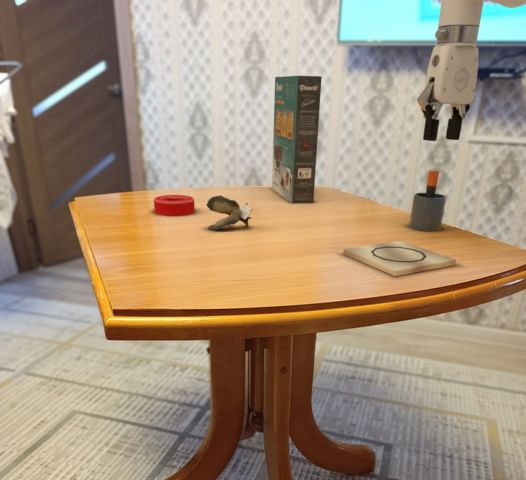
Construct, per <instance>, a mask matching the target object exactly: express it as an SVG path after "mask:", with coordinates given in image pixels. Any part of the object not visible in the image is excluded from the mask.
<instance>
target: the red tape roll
mask: <svg viewBox="0 0 526 480" xmlns="http://www.w3.org/2000/svg"><path fill="white" fill-rule="evenodd" d="M195 205H196V204H195V199H194V197H192V196H190V195H184V194H163V195H159V196H158V195H157V196H155V197H154V199H153V209H154V213H155V214H157V215H160V216H167V217H168V216H169V217H177V216H187V215H191V214H195V212H196V211H195V210H196V209H195V208H196V207H195Z"/></svg>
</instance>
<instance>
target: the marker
mask: <svg viewBox="0 0 526 480" xmlns="http://www.w3.org/2000/svg"><path fill="white" fill-rule="evenodd" d="M439 175H440V170H434V169H430V170H428V174H427V181H426V188H425V193H426V194H425V197H426V198H435V193H436V191H437V186H438V180H439Z"/></svg>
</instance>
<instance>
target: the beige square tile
mask: <svg viewBox="0 0 526 480" xmlns="http://www.w3.org/2000/svg"><path fill="white" fill-rule="evenodd" d="M342 251H343V252H342V255H344V256H347V257H349V258H350V259H353V260H355V261H358V262H360V263H363V264H365V265H368V266H370V267H372V268H374V269H377V270H380V271H382V272H384V273H387V274H388V275H391V276H393V277H399V276H405V275H411V274H416V273H420V272H425V271H426V272H427V271H431V270H436V269H441V268H447V267H452V266H455V265H456V261H457V259H456V258H452V257H449V256H446V255H443V254H440V253H438V252H434V251H432V250H428V249H427V248H422V247H420V246H417V245H414V244H411V243H408V242H405V241H402V240H396V241H390V242H382V243H375V244H370V245H363V246H362V245H361V246H355V247H349V248H344V249H343V250H342Z"/></svg>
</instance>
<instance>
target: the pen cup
mask: <svg viewBox="0 0 526 480" xmlns="http://www.w3.org/2000/svg"><path fill="white" fill-rule="evenodd" d="M425 194H426V192H415V193H413V199H412V205H411V211H410V219H409V224H408V226H409V228H410V229H413V230H416V231H422V232H437V231H440V230H441V229H442V224H443V219H444V213H445V208H446V203H447V195H444V194H440V193H436V192H435V198H426V197H425Z"/></svg>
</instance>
